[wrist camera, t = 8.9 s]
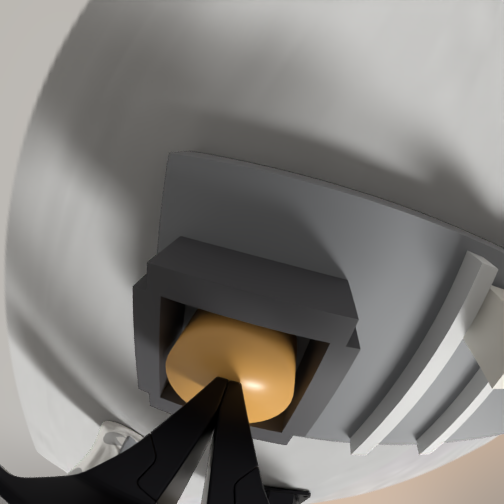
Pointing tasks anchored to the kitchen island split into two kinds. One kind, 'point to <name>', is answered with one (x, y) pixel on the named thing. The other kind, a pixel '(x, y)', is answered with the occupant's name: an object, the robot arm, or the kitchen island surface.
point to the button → (235, 362)
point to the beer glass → (107, 445)
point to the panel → (325, 302)
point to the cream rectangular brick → (489, 337)
